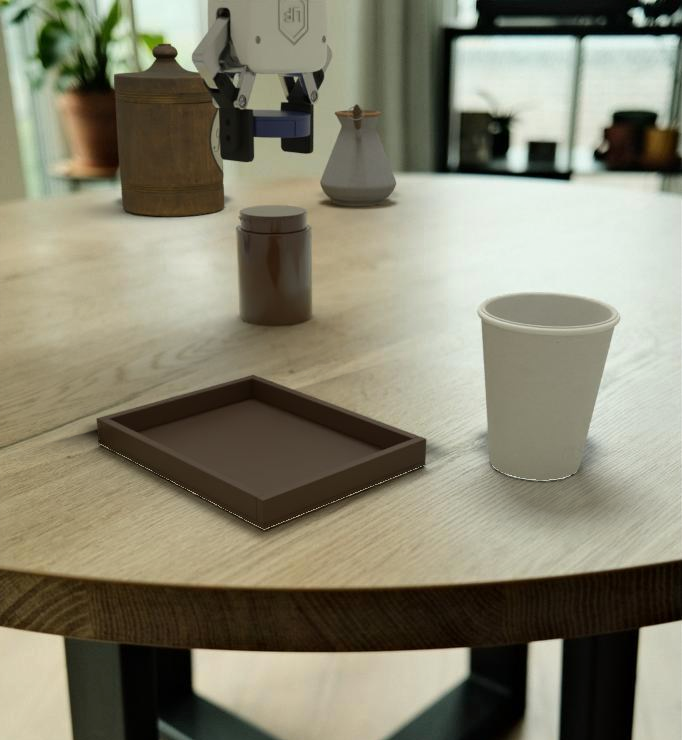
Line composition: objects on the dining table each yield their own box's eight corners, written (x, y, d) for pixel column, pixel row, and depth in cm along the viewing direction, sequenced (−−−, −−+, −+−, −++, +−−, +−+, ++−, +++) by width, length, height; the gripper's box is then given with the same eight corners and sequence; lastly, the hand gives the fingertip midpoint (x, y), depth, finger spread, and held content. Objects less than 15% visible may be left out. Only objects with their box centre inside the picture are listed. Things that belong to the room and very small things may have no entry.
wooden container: (244, 209, 148) (238, 43, 139) (154, 220, 140) (141, 45, 130) (191, 196, 159) (182, 41, 149) (105, 206, 151) (89, 43, 141)
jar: (225, 327, 93) (219, 210, 88) (280, 314, 97) (277, 201, 92) (271, 343, 88) (268, 220, 84) (327, 328, 92) (327, 211, 88)
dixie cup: (441, 459, 65) (448, 306, 61) (527, 429, 70) (540, 284, 66) (541, 503, 59) (558, 336, 55) (628, 467, 64) (650, 311, 60)
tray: (98, 444, 67) (95, 418, 67) (254, 398, 76) (253, 374, 75) (264, 531, 56) (263, 500, 55) (425, 466, 64) (426, 438, 63)
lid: (328, 135, 85) (328, 114, 84) (262, 139, 81) (262, 117, 80) (273, 128, 90) (273, 108, 89) (208, 131, 85) (207, 111, 84)
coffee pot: (322, 195, 160) (321, 93, 153) (395, 196, 159) (398, 93, 153) (313, 220, 141) (312, 104, 134) (396, 221, 140) (399, 104, 134)
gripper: (223, -100, 70) (231, 171, 78) (369, -80, 82) (363, 151, 90) (147, -95, 74) (162, 162, 82) (297, -77, 86) (298, 144, 94)
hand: (268, 154), depth 86 cm, fingers closed on lid, 7 cm apart
